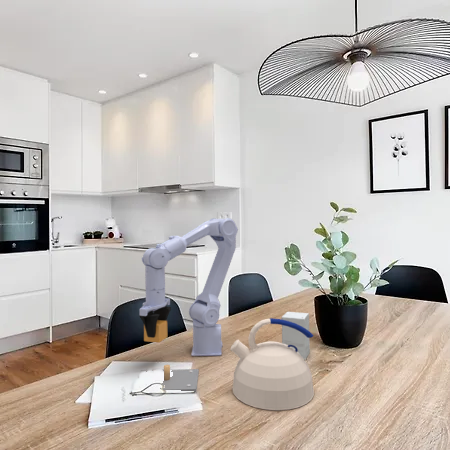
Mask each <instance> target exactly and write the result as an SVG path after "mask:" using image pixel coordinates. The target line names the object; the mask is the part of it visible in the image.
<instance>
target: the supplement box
mask: <svg viewBox="0 0 450 450" xmlns="http://www.w3.org/2000/svg"><path fill="white" fill-rule="evenodd" d="M280 319H282V320H286V321H290V322H293V323H296V324H298V325H300V326H302V327H304V328H305V329H307V330H308V331H310V313H309V312H298V311H296V312H294V311H287V312H285V313H284V314H283V315H282V316H281V317H280ZM281 343H283V344H286V345H294V346H295V347H296V348H297V349H298V351H297V352H298V353H299V354H300V355H301V356H302V358H303V359H304V360H305V361H306V360H307V358H308V357H309V354H310V352H311V349H310V347H311V345H310V343H311V342H310V338H307V337H306V336H305V335H304V334H303V333H301V332H300V331H298V330H296V329H293V328H291V327H288V326H284V325H281ZM291 348H293V349H294V350H295V348H294V347H291Z"/></svg>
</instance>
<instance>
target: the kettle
mask: <svg viewBox="0 0 450 450" xmlns="http://www.w3.org/2000/svg"><path fill="white" fill-rule="evenodd" d="M270 324H271V325H281V326H282V325H284V326H288V327H291V328H293V329H296V330H298V331H300V332H301V333H303V334H304V335H305V336H306V337H307V338H309V339H310V338H311V339H312V338H313V337H314V334H313V333H312V332H311V331H310V330H309V331H308V330H307V329H305V328H304V327H302V326H300V325H298V324H296V323H293V322H290V321H286V320H282V319H281V318H273V317H272V318H271V317H270V318H266V319H262V320H260V321H258V322H257V323H256V324H254V326H253V327H252V328H251V329H250V332H249V335H248V341H247V342H248V346H247V345H245V344H244V343H243V342H241V341H240V339H236V340H235V341H234V342H233V344H232V345H231V347H230V351H231V352H232V353H234V355H236V356H237V357H238V358H239V359H238V361H237V363H236V366H235V369H234V371H233V381H232V388H231V389H232V393H233V395H234V396H235V397H236V398H237V400H238V401H240V402H242V403H243V404H245V405H247V406H250V407H253V408H256V409H260V410H261V409H262V410H267V411H286V410H287V411H290V410H293V409H297V408H301V407H302V406H305V405H307V404H308V403H309V402H310V401H311V400H313V398H314V395H315V391H314V384H313V383H314V382H313V376H312V372H311V369H310V366H309V364H308V362H307V361H306V359H305V360H304V359H303V358H302V356H301V355H300V354H299V353H298V352H297V351H298V349H297V348H296V347H295V346H294V345H286V344H283V343H282V342H278V341H273V340H272V341H264V342H260V343H256V334H257V333H258V331H259V330H260V329H261V328H262V327H264V326H266V325H270ZM291 347H294V348H295V350H294V349H293V348H291Z"/></svg>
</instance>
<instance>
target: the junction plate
mask: <svg viewBox="0 0 450 450" xmlns="http://www.w3.org/2000/svg"><path fill="white" fill-rule="evenodd" d="M144 370H145V369H141V370H140V372H141V371H144ZM163 370H164V381H163V383H162V385H163V386H164V385H165V388H163V390H181V391H194V392H196V393H197V390H198V389H197V388H198V382H199V376H200V375H199V374H200V373H199V371H200V370H199V368H191V369H190V368H189V369H187V368H183V369H181V368H180V369H171V364H164V365H163ZM170 370H172V371H171V372H173V376H172V377H170ZM146 372H147V371H146ZM160 389H161V388H160Z"/></svg>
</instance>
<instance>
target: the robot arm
mask: <svg viewBox="0 0 450 450" xmlns="http://www.w3.org/2000/svg"><path fill="white" fill-rule="evenodd" d="M238 230H239V229H238V227H237V224H236V222H235V221H234V219H233V218H230V217H225V218H215V217H213V218H210V219H209V220H206V221H204V222H202V223H201V224H200V225H197V226H196V227H195V228H193V229H192V230H190V231H188V232H187V233H185V234H184V235H182V236H180V235H169V236H168V239H167V240H165V241H164V242H162V243H157V244H155V245H156V246H155V247H150V248H148V249H146V250H145V251H144V253H143V254H142V256H141V262H142V264H143V265H144V266H145V277H144V279H145V302H143V303H142V306H141V307H140V308H139V316H138V317H139V318H140V320H141V321H142V324H143V327H144V326H145V329H146V333H147V336H148V337H152V338H154V337H155V334H156V324H157V320H163V321H167V322H168V317H169V315H170V312H171V311H172V307H171V306H170V305H171V298H169V297H166V273H165V271H166V270H165V269H166V266H167V265H168V262H170V261H171V260H173V259H175V258H176V257H179V256H180V255H181V254H183V253H185V252H186V251H187V246H189V245H191V244H193V243H196V242H197V241H200V240H201V239H203V238H205V237H206V236H209V237H210V238H211V239H212V240H213V241H214V242H215V244H216V246H217V251H216V254H215V257H214V259H213V262H212V265H211V268H210V270H209V273H208V276H207V279H206V282H205V283H204V287H203V289H202V292H201V293H200V294H198V295H196V298H195V300H194V301H193V303H192V304H191V305H190V306H189V310H188V315H189V317H190V318H191V320H192V342H193V343H192V349H191V355H190V356H192V357H198V356H199V357H204V356H205V357H206V356H222V353H223V352H222V348H223V341H222V324H221V323H217V322H218V321H219V319H220V310H221V307H222V306H221V302H220V301H219V296H220V293H221V291H222V288H223V286H224V282H225V279H226V277H227V275H228V271H229V269H230V265H231V262H232V260H233V256H234V253H235V251H236V248H237V247H236V246H237V244H236V243H237V240H236V239H237V234H238Z"/></svg>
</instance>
